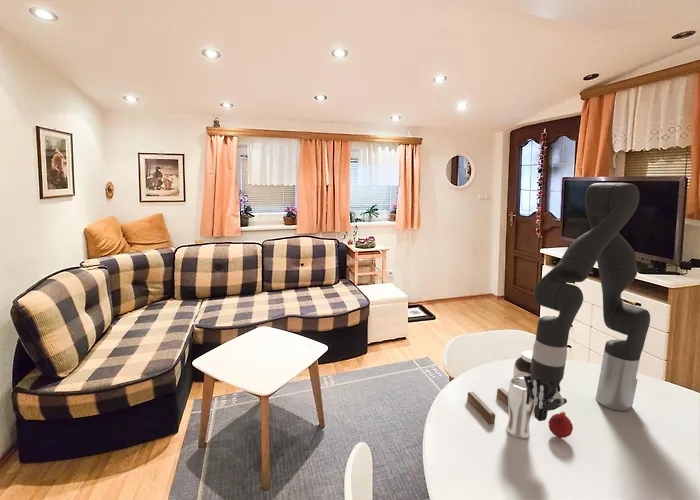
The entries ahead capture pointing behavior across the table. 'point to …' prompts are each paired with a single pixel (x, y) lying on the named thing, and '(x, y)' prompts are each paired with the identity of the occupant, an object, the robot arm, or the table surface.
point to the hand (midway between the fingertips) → (539, 418)
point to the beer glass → (519, 408)
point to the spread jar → (523, 364)
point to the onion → (560, 425)
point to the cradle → (483, 408)
